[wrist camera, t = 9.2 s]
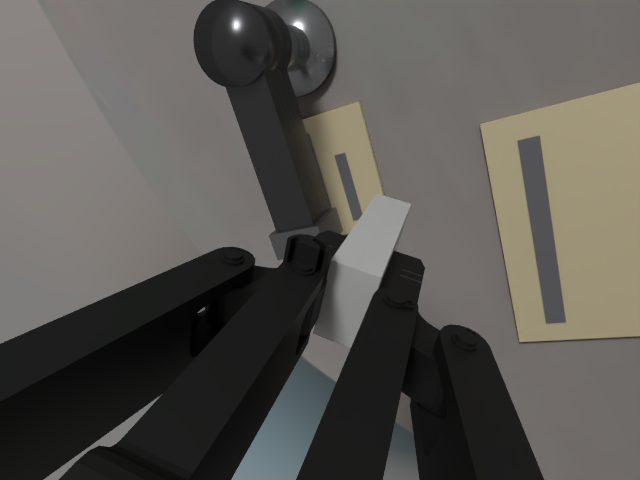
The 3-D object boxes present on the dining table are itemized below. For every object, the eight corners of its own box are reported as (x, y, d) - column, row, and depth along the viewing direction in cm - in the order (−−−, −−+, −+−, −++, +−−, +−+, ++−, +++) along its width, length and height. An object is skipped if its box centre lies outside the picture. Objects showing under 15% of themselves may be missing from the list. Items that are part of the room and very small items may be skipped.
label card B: (733, 328, 25) (737, 332, 25) (519, 339, 30) (519, 343, 30) (733, 58, 20) (737, 58, 20) (480, 124, 25) (480, 124, 25)
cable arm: (219, 22, 23) (181, 17, 20) (279, -6, 22) (247, -16, 19) (293, 239, 27) (271, 261, 24) (348, 229, 26) (332, 251, 23)
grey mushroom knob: (346, 80, 27) (324, 83, 23) (270, 107, 30) (238, 113, 26) (320, -19, 25) (291, -34, 21) (241, 18, 28) (202, 11, 24)
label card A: (392, 224, 30) (391, 226, 30) (308, 240, 33) (306, 241, 32) (360, 101, 27) (358, 101, 27) (271, 129, 30) (269, 130, 30)
